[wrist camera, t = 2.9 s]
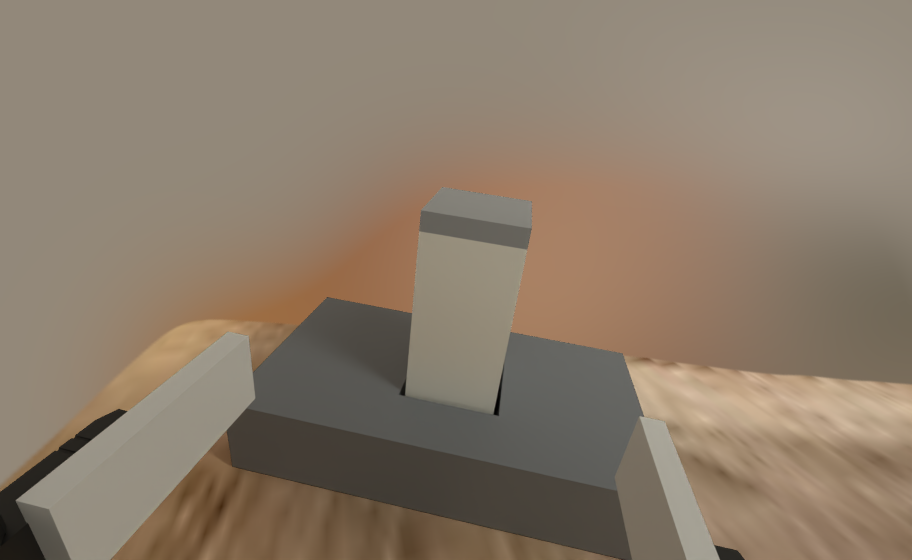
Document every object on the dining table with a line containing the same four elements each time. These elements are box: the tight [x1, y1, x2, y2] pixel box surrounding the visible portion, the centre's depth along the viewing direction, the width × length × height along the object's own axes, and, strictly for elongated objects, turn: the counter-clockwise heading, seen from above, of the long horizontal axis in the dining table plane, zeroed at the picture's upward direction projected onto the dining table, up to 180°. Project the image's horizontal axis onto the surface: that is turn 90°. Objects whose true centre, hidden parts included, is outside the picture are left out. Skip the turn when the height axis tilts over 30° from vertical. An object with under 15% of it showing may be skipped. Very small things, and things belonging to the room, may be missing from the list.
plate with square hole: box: [227, 297, 644, 560], centre depth 26 cm, size 22×12×4 cm, turn 81°
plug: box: [405, 187, 532, 415], centre depth 24 cm, size 5×5×14 cm
